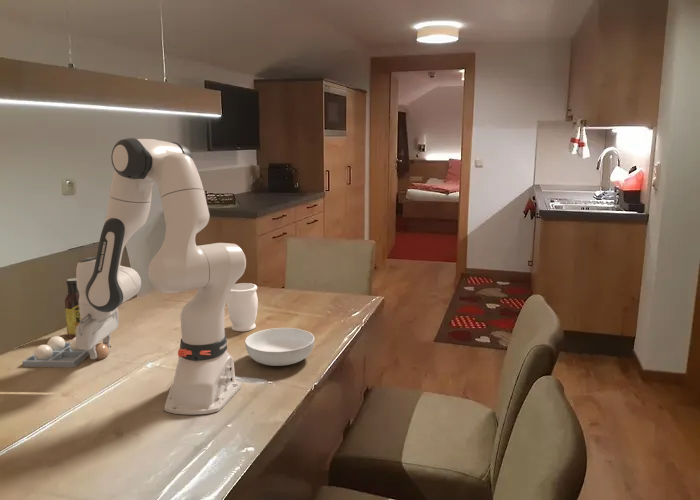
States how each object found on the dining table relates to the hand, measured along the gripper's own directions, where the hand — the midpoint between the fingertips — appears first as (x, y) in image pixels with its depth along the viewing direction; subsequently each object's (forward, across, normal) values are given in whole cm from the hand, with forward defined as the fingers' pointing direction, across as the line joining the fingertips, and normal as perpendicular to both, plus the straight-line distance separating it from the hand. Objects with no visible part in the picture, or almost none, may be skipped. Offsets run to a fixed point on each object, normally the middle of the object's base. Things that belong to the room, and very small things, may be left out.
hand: (100, 353), depth 173 cm
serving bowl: (+2, +1, -55) cm, 55 cm away
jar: (+2, +29, -37) cm, 47 cm away
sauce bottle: (+2, +19, +17) cm, 25 cm away
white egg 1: (+1, -3, +16) cm, 16 cm away
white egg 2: (+1, +4, +16) cm, 16 cm away
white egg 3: (+1, +4, +8) cm, 9 cm away
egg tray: (+2, 0, +12) cm, 12 cm away
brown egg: (+2, 0, 0) cm, 2 cm away
